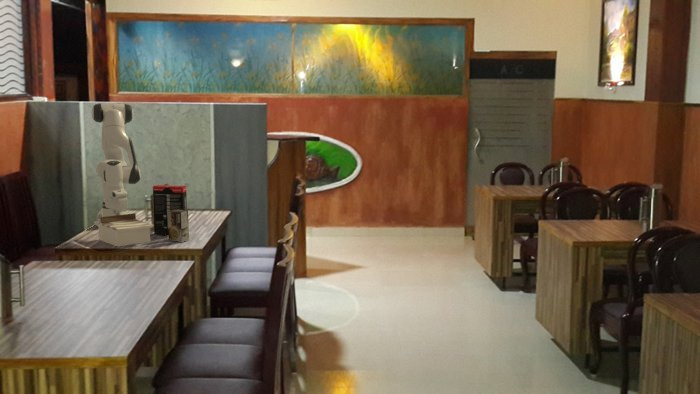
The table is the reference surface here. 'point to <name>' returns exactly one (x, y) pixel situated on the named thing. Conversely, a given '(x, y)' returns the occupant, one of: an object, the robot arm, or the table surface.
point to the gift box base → (123, 236)
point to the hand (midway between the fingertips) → (116, 218)
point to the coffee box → (178, 225)
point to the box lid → (124, 222)
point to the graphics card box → (167, 205)
